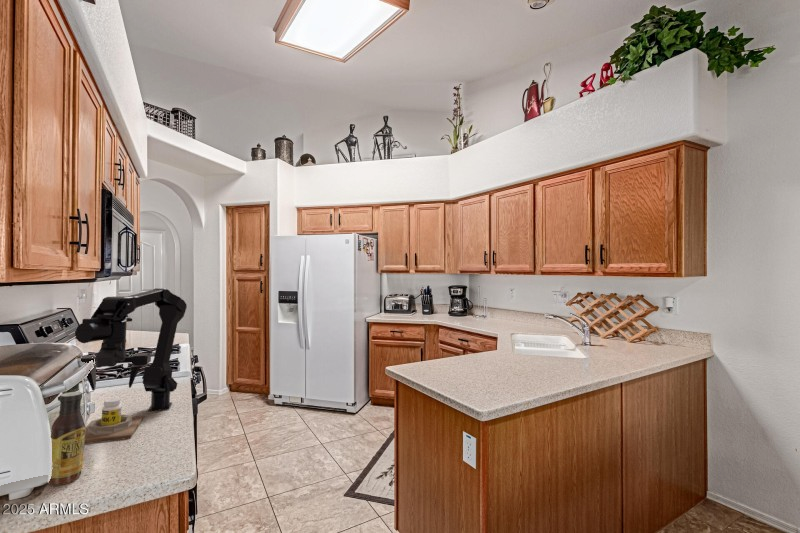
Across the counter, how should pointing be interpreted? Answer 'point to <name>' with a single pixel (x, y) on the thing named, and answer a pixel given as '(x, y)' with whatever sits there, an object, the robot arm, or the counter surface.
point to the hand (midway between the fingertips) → (112, 388)
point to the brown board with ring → (112, 429)
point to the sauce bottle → (68, 440)
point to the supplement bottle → (111, 412)
